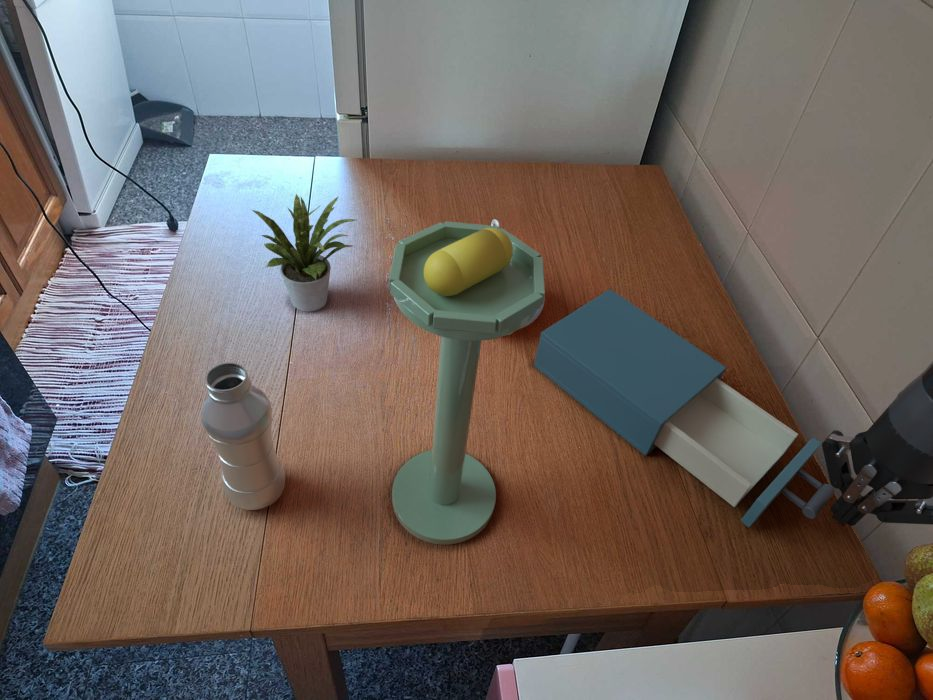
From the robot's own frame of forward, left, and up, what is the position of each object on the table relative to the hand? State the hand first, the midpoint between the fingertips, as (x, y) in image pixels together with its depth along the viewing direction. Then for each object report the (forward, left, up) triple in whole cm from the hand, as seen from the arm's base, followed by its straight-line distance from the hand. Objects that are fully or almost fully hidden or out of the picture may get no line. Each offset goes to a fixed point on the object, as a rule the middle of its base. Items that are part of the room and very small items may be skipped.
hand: (840, 517), depth 73 cm
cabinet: (+30, 0, -4) cm, 31 cm away
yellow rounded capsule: (+32, +31, +31) cm, 54 cm away
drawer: (+13, 0, -3) cm, 14 cm away
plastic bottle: (+46, +47, -4) cm, 66 cm away
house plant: (+69, +24, -4) cm, 74 cm away
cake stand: (+32, +31, -4) cm, 45 cm away
